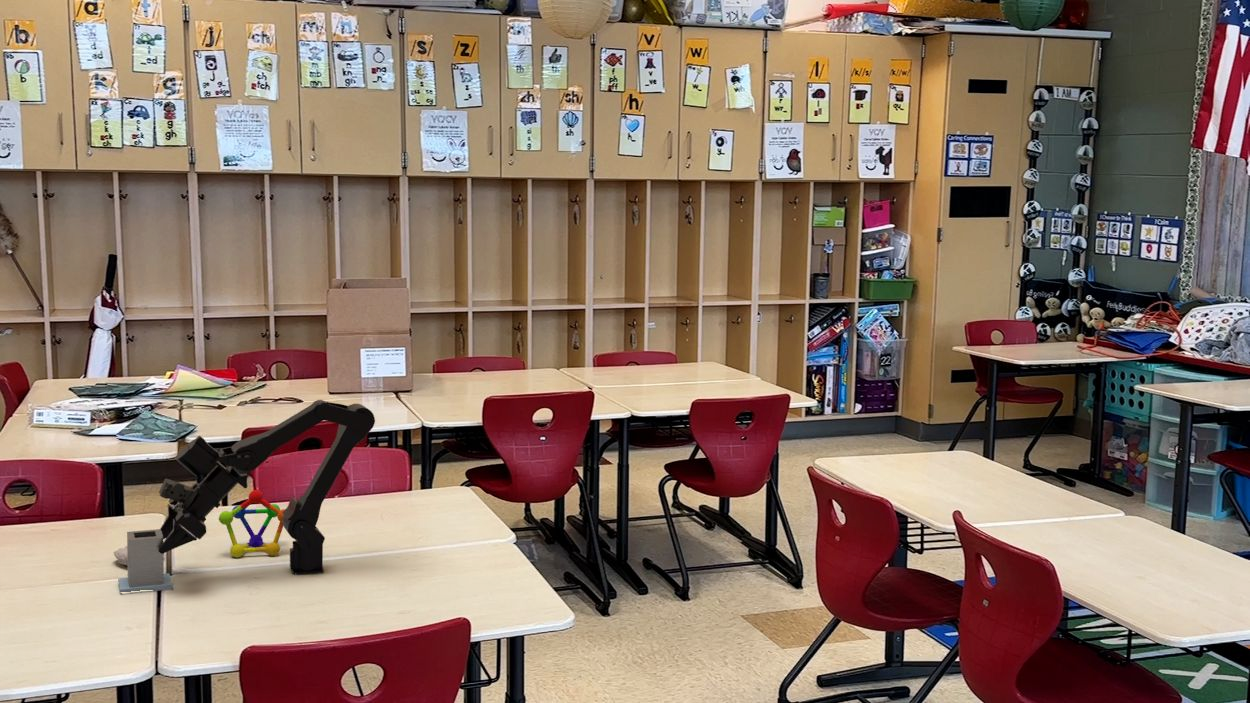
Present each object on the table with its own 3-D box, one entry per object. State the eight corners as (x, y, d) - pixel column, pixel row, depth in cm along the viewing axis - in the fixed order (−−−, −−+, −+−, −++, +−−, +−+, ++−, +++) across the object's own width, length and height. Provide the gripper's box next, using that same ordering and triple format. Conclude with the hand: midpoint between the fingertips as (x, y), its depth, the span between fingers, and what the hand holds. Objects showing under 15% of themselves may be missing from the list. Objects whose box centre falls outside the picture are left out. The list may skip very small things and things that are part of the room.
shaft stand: (169, 577, 249) (169, 557, 249) (172, 589, 242) (172, 568, 242) (118, 582, 245) (117, 562, 244) (120, 594, 238) (120, 573, 237)
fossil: (126, 537, 265) (170, 541, 265) (125, 555, 265) (169, 559, 265) (103, 549, 253) (150, 553, 253) (102, 568, 253) (148, 572, 253)
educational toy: (277, 545, 279) (284, 483, 278) (288, 560, 268) (295, 496, 267) (209, 545, 272) (216, 482, 271) (218, 561, 261) (224, 495, 260)
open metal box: (161, 575, 248) (160, 529, 247) (164, 584, 242) (163, 537, 241) (127, 578, 245) (126, 531, 244) (129, 587, 239) (128, 540, 238)
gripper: (178, 456, 252) (124, 511, 249) (187, 475, 236) (130, 534, 232) (217, 489, 257) (165, 543, 253) (229, 509, 240) (173, 568, 237)
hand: (157, 546), depth 244 cm, fingers open, 9 cm apart
